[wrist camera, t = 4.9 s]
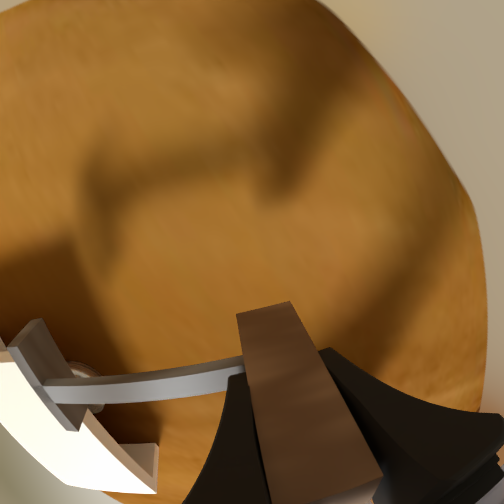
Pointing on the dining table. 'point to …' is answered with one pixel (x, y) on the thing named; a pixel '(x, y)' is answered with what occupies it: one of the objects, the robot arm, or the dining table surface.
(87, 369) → the grey round disc
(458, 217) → the dining table surface
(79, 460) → the white bridge block
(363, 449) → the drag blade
